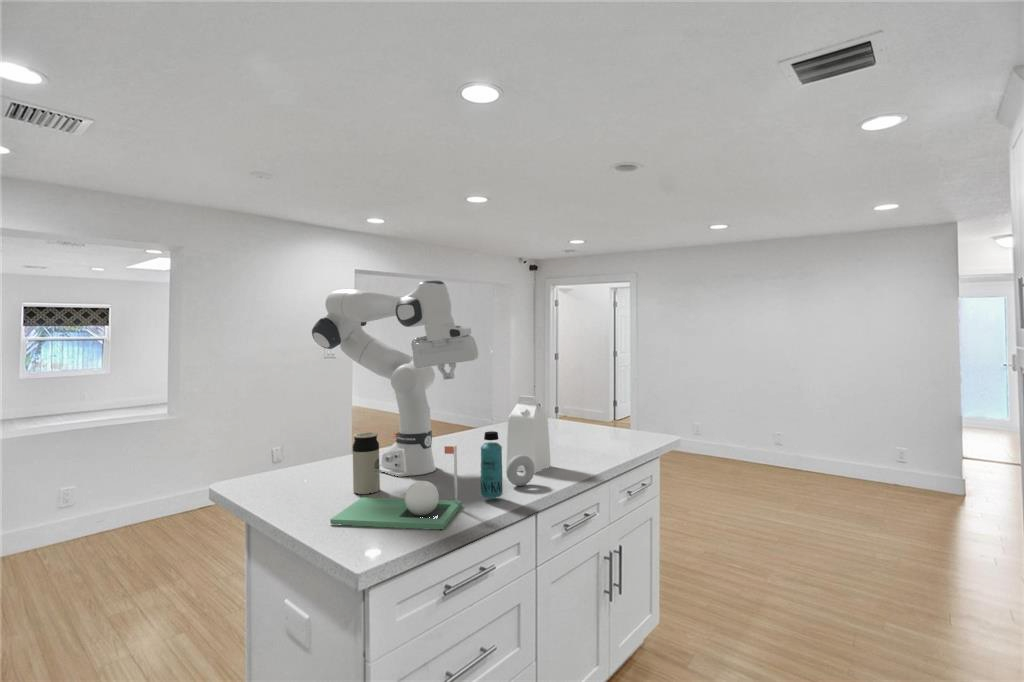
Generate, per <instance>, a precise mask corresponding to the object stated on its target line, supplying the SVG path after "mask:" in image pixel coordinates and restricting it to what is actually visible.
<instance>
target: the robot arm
mask: <svg viewBox="0 0 1024 682" xmlns="http://www.w3.org/2000/svg"><path fill="white" fill-rule="evenodd" d="M451 302H452V301H451V298H450V295H449V290H448V288H447V286H446V284H445V282H444V281H442V280H422V281H420V282H419V283H418V285H417V286H416V288H415V289H414V290H413V291H411V292H409V294H407V295H405V296H397V295H390V294H386V293H380V292H375V291H370V290H365V289H360V288H359V289H358V288H344V289H342V288H341V289H337V290H334V291H332V292H330V293H329V294H328V295H327V297H326V299H325V309H326V313H325V314H324V315H323V316H322V317H321V318H319V320H317V322H316V323H315V324H314V326H313V327H312V330H311V335H312V336H311V337H312V338H313V340H314V341H315V343H317V345H318V346H320V347H322V348H323V349H327V350H333V349H334V348H336V347H338V346H339V348H340V349H341V351H342V352H343V353H344V354H345V355H346V356H347V357H348V358H349V359H351V360H352V361H354V362H356V363H357V364H358V365H359V366H362V367H364V368H366V369H368V370H369V371H370V372H373V373H374V374H376V375H377V376H380V377H383V378H386V379H388V380H390V385H391V388H392V389H393V390H394V392H395V393H394V394H395V397H396V398H395V399H396V403H397V407H398V419H399V420H398V423H399V424H398V426H399V428H398V429H399V431H398V432H397V433H393V435H394V436H393V438H396V439H395V442H394V443H393V444H392V445H390V446H389V448H387V449H386V450H385V451H384V452H383V453H382V455H381V463H379V470H380V471H381V472H380V473H382V472H385V473H384V474H386V473H388V474H387V475H390V474H391V475H390V476H394V475H395V476H394V477H397V476H398V478H401V477H407V476H409V477H410V476H420V475H426V474H430V473H432V472H434V471H436V469H437V467H436V465H435V461H434V455H433V448H432V443H433V433H432V430H431V429H432V428H431V427H432V426H431V407H430V406H429V403H428V400H427V392H426V390H428V389H430V387H431V385H433V384H434V383H433V382H434V381H435V379H436V374H435V371H434V369H433V367H435V366H437V370H438V371H439V372H440V373H441V375H442V378H443V380H444V381H445V380H451V379H455V371H456V367H457V363H465V362H472V361H475V360H477V359H478V357H479V350H478V346H477V342H476V340H475V337H474V336H472V329H471V327H467V326H461V325H456V324H455V321H454V318H453V315H452V303H451ZM390 317H396V319H397V321H398V322H399V324H401V325H402V326H403V327H406V328H414V327H421V326H424V330H425V336H420V337H419V336H418V337H415V338H414V339H412V341H411V343H410V347H411V350H412V356H411V355H410V354H407V353H405V352H402V351H400V350H397V349H396V348H394V347H392V346H390V345H388V344H387V343H385V342H383V341H381V340H379V339H378V338H376V337H374V336H373V335H371V334H368V333H367V332H366V331H364V330H363V327H365V326H366V325H367V322H372V321H373V322H374V321H379V320H382V319H386V318H390ZM446 365H448V367H449V368H450V370H449V372H448V371H446V369H445V367H446Z"/></svg>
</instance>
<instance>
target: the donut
mask: <svg viewBox="0 0 1024 682" xmlns="http://www.w3.org/2000/svg"><path fill="white" fill-rule="evenodd" d="M506 465H507V464H506ZM521 465H523V466H524V472H522V474H520V475H519V474H518V473H517V472H518V471H517V469H518V467H519V466H521ZM505 471H506V473H505V474H506V478H507V480H508V481H509V483H511V485H514V486H516V487H522V486H525V485H527V484H528V483H530V482H531V481H532V479H533V478H534V475H535V474H534V471H535V467H534V463H533V461H532V459H531V458H530V457H528V456H526V455H517V456H515V457H513V458H512V459H511V460H510V462H509V463H508V465H507V469H506V470H505Z"/></svg>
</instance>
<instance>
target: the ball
mask: <svg viewBox="0 0 1024 682" xmlns="http://www.w3.org/2000/svg"><path fill="white" fill-rule="evenodd" d="M404 499H405V504H406V507H407V508H408V510H409V511H410V512H411V513H413V514H415V515H418V516H424V515H427V514H429V513H431V512H432V511H433V510H434V509H435V508H436V506H437V504H438V501H439V500H440V495H439V491H438V489H437V487H436V486H435V485H434V484H433V483H432V482H430V481H427V480H418V481H416V482H414V483H413V484H411V485H409V487H408V488H407V490H406V492H405V496H404Z"/></svg>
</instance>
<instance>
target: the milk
mask: <svg viewBox="0 0 1024 682" xmlns="http://www.w3.org/2000/svg"><path fill="white" fill-rule="evenodd" d="M507 420H508V421H507V439H506V440H507V443H506V470H507V465H508V463H509V462H510V460H511V459H512V458H513V457H515V456H517V455H526V456H528V457H530V458H531V459H532V461H533V463H534V467H535V471H534V473H536V472H538V471H540V470H542V469H544V468H546V467H548V466H550V467H552V463H551V462H552V461H551V451H550V434H549V421H548V420H549V419H548V415H547V413H546V412H545V410H544V409H543V408H542V407H541V406H540V405H539V401H538V400H537V397H536V396H534V395H533V396H531V395H519V397H518V400H517V403H516V405H515V406H514V408H513V409H512V411H511V412H510V413H509V416H508V418H507ZM548 468H549V467H548ZM546 469H547V468H546ZM517 470H519V471H518V472H520V471H524V466H523V465H521V466H519V467H518V469H517ZM544 470H545V469H544ZM542 471H543V470H542ZM540 472H541V471H540ZM538 473H539V472H538ZM536 474H537V473H536Z"/></svg>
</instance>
